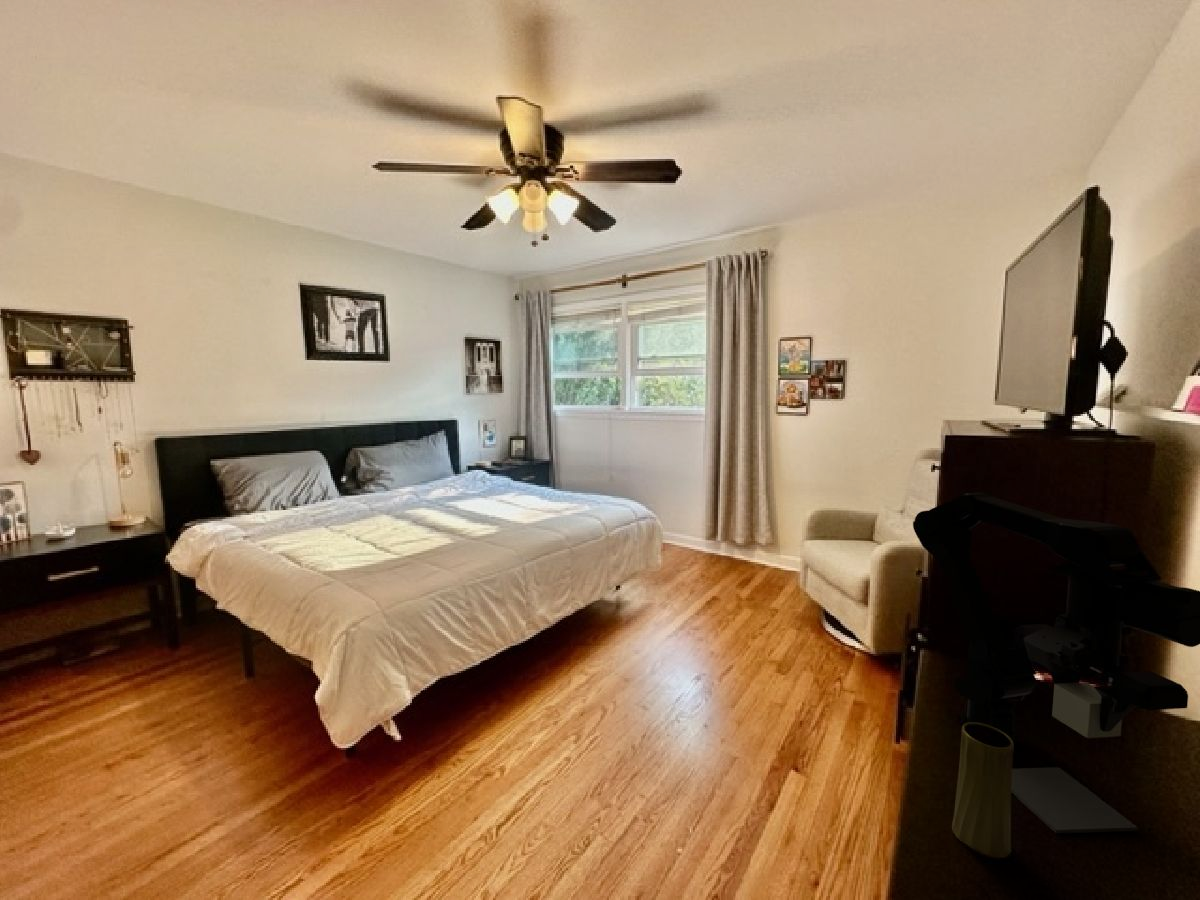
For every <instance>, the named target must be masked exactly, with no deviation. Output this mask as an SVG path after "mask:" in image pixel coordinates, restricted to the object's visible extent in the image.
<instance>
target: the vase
mask: <svg viewBox="0 0 1200 900" xmlns="http://www.w3.org/2000/svg"><path fill="white" fill-rule="evenodd" d="M1014 745H1015V742H1013V740H1012V739H1011V738H1010V737H1009V736H1008V735H1007V734H1006V733H1004V732H1002V731H1001V730H999V729H997V728H994V727H992V726H989V725H986V724H982V723H975V722H969V723H965V724H964V725H962V727H961V739H960V751H959V753H960V754H959V763H958V764H959V765H958V766H959V767H958V774H957V783H956V791H955V792H956V793H955V802H954V810H953V811H954V812H953V819H952V823H951V829H952V833H953V834H955V835H954V836H955V838H956V839H957V838H958V839H959V840H960V841H962V842H963V843H965V844H967V845H968V846H970V847H971V848H973V849H976V850H978V851H980V852H982V853H984V854H986V855H990V856H993V857H994V856H995V857H998V858H999V857H1001V858H1002V857H1007V856H1008V855H1009V854H1010V853H1011V854H1012V844H1011V843H1012V842H1011V841H1012V840H1011V835H1012V833H1011V832H1012V831H1011V829H1012V827H1011V826H1012V808H1011V807H1012V806H1011V805H1012V793H1011V787H1012V769H1013V758H1014V748H1015V747H1014ZM958 839H957V840H958ZM959 840H958V841H959ZM960 841H959V842H960ZM1011 854H1010V855H1011ZM1010 855H1009V856H1010ZM1009 856H1008V857H1009ZM1008 857H1007V858H1008Z"/></svg>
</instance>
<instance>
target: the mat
mask: <svg viewBox="0 0 1200 900" xmlns="http://www.w3.org/2000/svg"><path fill="white" fill-rule="evenodd" d="M1012 793H1013V794H1014V795H1015V796H1016V797H1017V800H1018V801H1020V803H1022V804H1023V805H1024V806H1025V807H1026V808H1027V809H1028V810H1030V811H1031V812H1032V814H1034V815H1035V816H1037V818H1039V820H1041V822H1043V824H1045V825H1046V826H1047V827H1049V828H1050V830H1051V831H1052V832H1054V833H1055V834H1077V833H1078V834H1082V833H1083V834H1085V833H1112V832H1137V831H1138V830H1139V829H1138V828H1139V827H1138V826H1137V825H1136V824H1134V823H1133V822H1131V820H1129V819H1127V817H1125V816H1124V815H1122V814H1121V813H1119V812H1118V811H1117V810H1116V809H1114V808H1113V807H1112V806H1111V805H1110V804H1108V803H1107V802H1105V801H1104V800H1102V799H1101V798H1100V797H1099V796H1098V795H1096V794H1095V793H1093V792H1092V791H1091V790H1089V789H1088V787H1085V786H1084V785H1083V784H1082V783H1080V782H1079V781H1078V780H1076V779H1075V778H1073V777H1072V775H1070V774H1069V773H1067V772H1066V771H1065V770H1063V769H1062V768H1061V767H1057V766H1056V767H1023V768H1012V787H1011V794H1012ZM1013 794H1012V795H1013ZM1014 795H1013V796H1014ZM1015 796H1014V797H1015ZM1016 797H1015V798H1016Z"/></svg>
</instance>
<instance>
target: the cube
mask: <svg viewBox="0 0 1200 900" xmlns="http://www.w3.org/2000/svg"><path fill="white" fill-rule="evenodd" d="M1053 685H1054V687H1053V700H1052V711H1051V712H1052V714H1051V717H1053V718H1055V719H1056V720H1057V721H1059V722H1061V723H1062V724H1064V725H1066V726H1067V727H1069V728H1071V729H1072V730H1073V731H1075V732H1077V733H1078V734H1080V735H1081V736H1083V737H1085V738H1086V739H1097V738H1109V737H1110V738H1111V737H1114V738H1115V737H1121V735H1122V723H1123V719H1122V720H1121V721H1120V722H1119V723H1118V724H1117V725H1116V726H1115V727H1114V728H1113V729H1112V730H1111V731H1108V732H1104V731H1102V730H1101V727H1100V710H1101V695H1100V694H1099V693H1098V692H1097V690H1096V689H1095V688H1094V686H1095V685H1092V684H1090V683H1088V682H1086V681H1084V682H1083V681H1080V682H1078V683H1059V684H1054V683H1053Z"/></svg>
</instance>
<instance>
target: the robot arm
mask: <svg viewBox="0 0 1200 900" xmlns="http://www.w3.org/2000/svg"><path fill="white" fill-rule="evenodd" d="M981 522H984V523H987V524H989V525H993V526H995V527H999V528H1000V529H1004V530H1007V531H1009V532H1012V533H1015V534H1018V535H1020V536H1023V537H1026V538H1029V539H1032V540H1034V541H1037V542H1039V543H1040V544H1043V545H1045V546H1046V547H1047V548H1048V549H1049V550H1050V551H1051V552H1052V553H1053V554H1054V555H1056V556H1058V557H1059V558H1062V559H1064V562H1062V563H1061V564H1058V565H1056V566H1053V567H1051V569H1050V570H1051V572H1052V573H1053V574H1058V575H1060V576H1064V577H1067V578H1068V582H1067V596H1066V611H1065V613H1057V616H1056V617H1055V622H1054V625H1053V626H1052V625H1049V624H1047V623H1039V624H1038V623H1037V624H1035V623H1033V624H1020V625H1018V626H1017V627H1016V629H1014V633H1013V634H1014V635H1013V642H1014V643H1015V644H1017V645H1019V646H1021V647H1015V646H1013V645H1012V644H1011V643H1010V642H1009V641H1008V640H1007V639H1006V638H1005V637H1004V635H1003V632H1002V630H1001V627H1000V625H999V623H998V620H997V618H996V616H995V613H994V611H993V608H992V606H991V603H990V602H989V599H988V596H987V594H986V592H985V590H984V587H983V585H982V582H981V581H980V578H979V575H978V573H977V571H976V568H975V566H974V564H973V561H972V559H971V557H970V548H971V545H972V544H971V543H972V534H971V531H970V529H972V528H974V527H976V526H978V525H979V524H980V523H981ZM912 528H913V531H914V532H915V535H916V538H918V540H919V543H920V544H921V546H922V548H923V549H925V550H926V551H927V552H928V553H929V554H930V555H932V557H933V558H935V559H936V561H937V562H938V565H939V567H940V570H941V572H942V575H943V577H944V580H945V582H946V585H947V588H948V590H949V593H950V595H951V598H952V601H953V603H954V605H955V608H956V610H957V613H958V615H959V618H960V620H961V623H962V626H963V627H964V631H965V633H966V636H967V637H968V641H969V645H968V649H967V650H968V651H967V656H966V662H967V667H968V671H969V673H967V674H964V675H961V676H960V677H957V678H955V679H954V685H955V689H956V692H957V693H958V694H959V695H961V696H962V697H965V702H964V703H965V707H964V715H962V716H960V715H959V716H956V717H955V719H956V721H957V722H958V723H960V725H962V726H963V725H964V724H965V723H969V722H975V723H982V724H986V725H989V726H992V727H994V728H997V729H999V730H1001V731H1002V732H1004V733H1006V734H1007V735H1008V736H1009V737H1010V738H1011V739H1012V740H1013V743H1021V738H1020V737H1019V735H1016V734H1015V732H1014V727H1015V725H1014V723H1015V717H1014V705H1012V704H1011V702H1015V701H1019V702H1020V701H1023V699H1024V698H1025V697H1026V695H1030V694H1031V693H1032V692H1033V691H1034V689H1035V687H1036V686H1037V681H1036V677H1035V675H1036V674H1038V672H1037V671H1036V670H1035V668H1034V667H1033V666H1032V663H1031V662H1033V663H1037V664H1039V665H1040V666H1042V667H1045V668H1046V670H1048V671H1049V674H1050V676H1051V678H1052V681H1053V685H1054V684H1059V683H1078V682H1081V679H1082V678H1081V677H1082V673H1083V671H1084V670H1087V669H1090V670H1092V671H1093V672H1096V673H1098V674H1100V675H1102V676H1105V677H1106V678H1108V682H1107V685H1093V686H1094V688H1095V689H1096V690H1097V692H1098V693H1099V694H1100V695H1101V710H1100V727H1101V730H1102V731H1104V732H1108V731H1111V730H1112V729H1113V728H1114V727H1115V726H1116V725H1117V724H1118V723H1119V722H1120V721H1121V720H1122V721H1123V719H1124V718H1125V717H1126V715H1127V714H1129V712H1131V710H1132V709H1134V708H1135V707H1136V706H1137V707H1138V708H1140V709H1143V710H1148V711H1161V710H1176V709H1177V710H1180V709H1188V702H1189V694H1188V690H1186V689H1185V688H1184V687H1185V686H1183V685H1182V684H1180V683H1178V682H1176V681H1174V680H1171V679H1169V678H1167V677H1165V676H1163V675H1161V674H1158V673H1156V672H1154V671H1151V670H1141V671H1140V670H1138V671H1129V670H1128V669H1125V668H1123V667H1120V664H1128V663H1129V657H1130V656H1129V655H1128V654H1125V653H1123V652H1121V651H1122V650H1121V649H1122V639H1123V636H1124V635H1131V633H1132V629H1136V630H1139V631H1141V632H1144V633H1147V634H1150V635H1153V636H1156V637H1159V638H1162V639H1165V640H1168V641H1170V642H1173V643H1177V644H1178V645H1182V646H1185V647H1188V648H1193V647H1196V646H1199V645H1200V590H1197V589H1193V588H1189V587H1183V586H1176V585H1172V584H1168V583H1163V582H1160V581H1161V580H1162V577H1161V576H1160V575H1159V574H1158V572H1157V570H1156V569H1155V567H1154V566H1153V565H1152V563H1151V562H1150V560H1148V558H1147V556H1146V555H1145V554H1144V552H1143V551H1142V550H1141V548H1140V545H1139V542H1138V539H1137V538H1136V537H1135V535H1134V533H1133V531H1131V530H1130V529H1129V528H1126V527H1124V526H1122V525H1119V524H1114V523H1107V522H1100V521H1093V520H1083V519H1072V518H1071V519H1070V518H1066V517H1059V516H1056V515H1053V514H1049V513H1046V512H1043V511H1039V510H1037V509H1033V508H1030V507H1027V506H1023V505H1020V504H1017V503H1013V502H1011V501H1007V500H1004V499H1001V498H998V497H994V496H992V495H990V494H988V493H986V492H971V493H962V494H961V495H958V496H957V497H955V498H953V499H952V500H950V501H947V502H945V503H943V504H941V505H938V506H935V507H933V508H930V509H929V510H923V511H922V510H921V511H919V512H918V513H917V514H916V515H915V517H914V521H913V522H912ZM1121 566H1123V567H1125V568H1121V569H1113V568H1112V567H1121ZM1124 623H1125V624H1124Z"/></svg>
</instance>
